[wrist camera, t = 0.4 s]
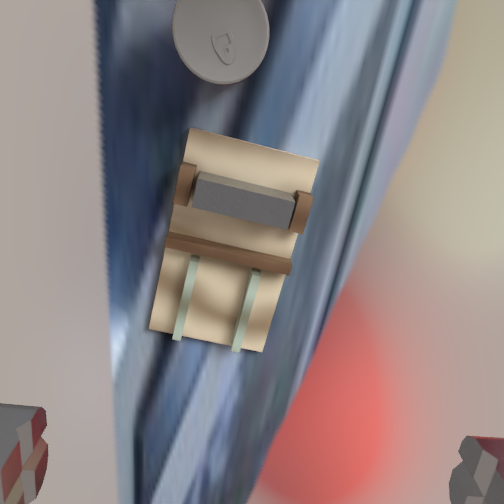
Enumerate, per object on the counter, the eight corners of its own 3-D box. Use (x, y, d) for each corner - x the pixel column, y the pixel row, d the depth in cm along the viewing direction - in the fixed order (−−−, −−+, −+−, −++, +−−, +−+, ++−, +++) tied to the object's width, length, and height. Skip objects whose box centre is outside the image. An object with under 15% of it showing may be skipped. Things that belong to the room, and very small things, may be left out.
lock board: (190, 127, 50) (187, 130, 46) (317, 159, 52) (323, 165, 48) (150, 324, 58) (144, 339, 54) (261, 347, 59) (263, 363, 56)
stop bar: (194, 197, 51) (191, 207, 48) (200, 170, 50) (197, 178, 47) (283, 219, 52) (287, 229, 49) (291, 193, 51) (295, 202, 48)
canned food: (215, 98, 49) (210, 103, 39) (168, 26, 47) (149, 12, 36) (278, 53, 48) (289, 47, 37) (233, -22, 45) (232, -51, 35)
